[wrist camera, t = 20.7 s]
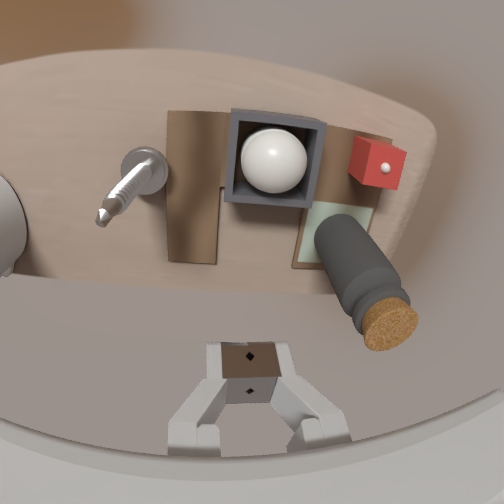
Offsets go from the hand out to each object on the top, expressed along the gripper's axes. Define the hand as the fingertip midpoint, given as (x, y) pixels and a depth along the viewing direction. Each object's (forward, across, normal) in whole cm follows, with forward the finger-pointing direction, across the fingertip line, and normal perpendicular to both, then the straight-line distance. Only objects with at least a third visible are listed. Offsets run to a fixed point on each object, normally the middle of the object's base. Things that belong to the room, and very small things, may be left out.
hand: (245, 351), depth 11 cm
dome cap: (+22, -4, -3) cm, 23 cm away
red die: (+21, -14, -4) cm, 26 cm away
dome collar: (+21, -4, -3) cm, 22 cm away
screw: (+22, +8, 0) cm, 24 cm away
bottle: (+21, -13, +6) cm, 25 cm away
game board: (+22, -6, +2) cm, 22 cm away
